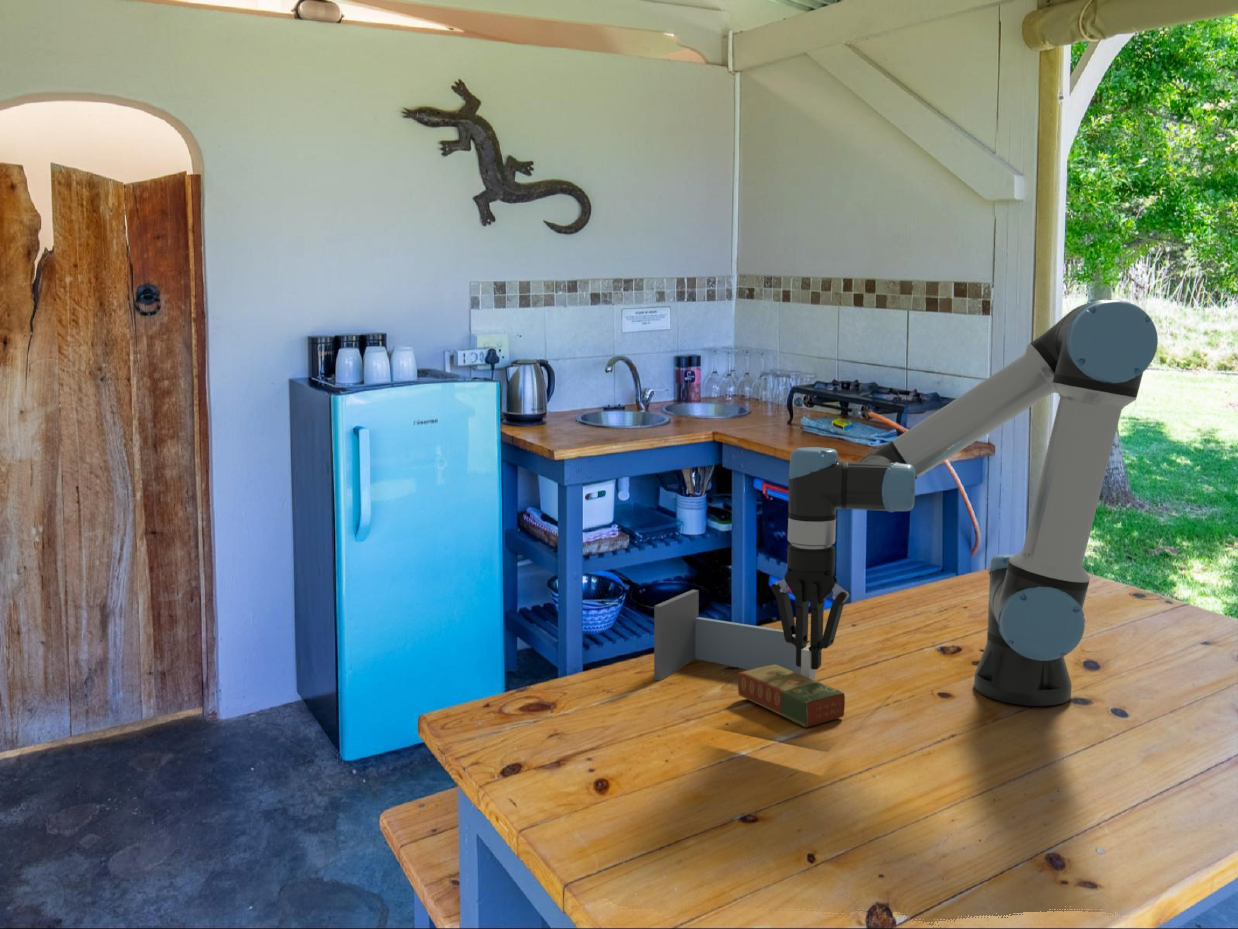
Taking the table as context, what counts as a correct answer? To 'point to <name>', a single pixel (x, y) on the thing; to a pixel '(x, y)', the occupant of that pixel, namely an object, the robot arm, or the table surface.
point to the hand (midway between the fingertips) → (807, 687)
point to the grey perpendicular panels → (713, 640)
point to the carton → (791, 695)
